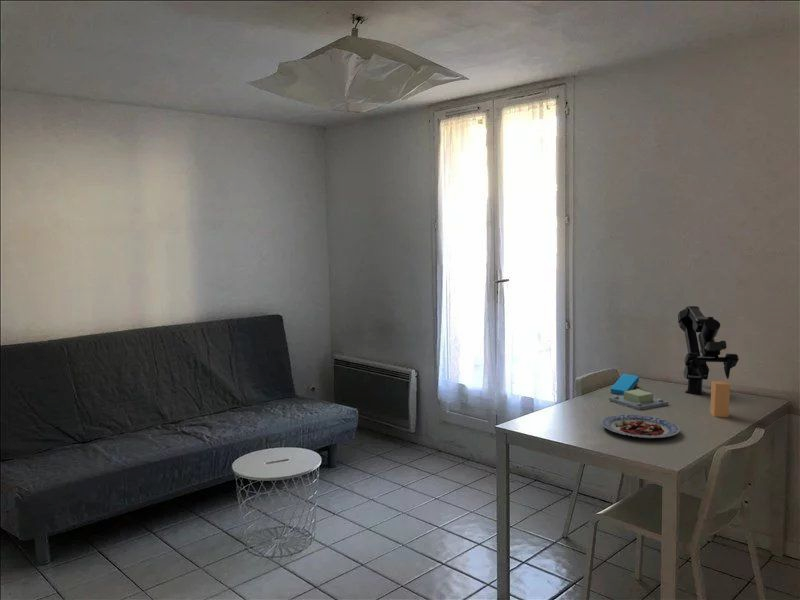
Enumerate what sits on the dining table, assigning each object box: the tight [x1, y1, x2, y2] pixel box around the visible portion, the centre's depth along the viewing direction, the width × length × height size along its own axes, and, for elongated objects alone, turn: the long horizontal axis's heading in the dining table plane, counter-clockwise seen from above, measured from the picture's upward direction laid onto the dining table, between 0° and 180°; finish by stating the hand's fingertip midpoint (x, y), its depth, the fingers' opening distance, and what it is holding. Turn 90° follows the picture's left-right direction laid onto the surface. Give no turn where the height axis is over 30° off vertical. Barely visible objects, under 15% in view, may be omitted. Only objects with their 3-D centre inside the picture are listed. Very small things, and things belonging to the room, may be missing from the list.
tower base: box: [608, 388, 669, 411], centre depth 262 cm, size 16×16×4 cm
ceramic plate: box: [601, 414, 681, 439], centre depth 227 cm, size 26×26×3 cm
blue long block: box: [610, 373, 640, 395], centre depth 282 cm, size 7×7×18 cm
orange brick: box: [709, 380, 731, 418], centre depth 244 cm, size 5×5×12 cm
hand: (715, 378), depth 249 cm, fingers open, 9 cm apart
